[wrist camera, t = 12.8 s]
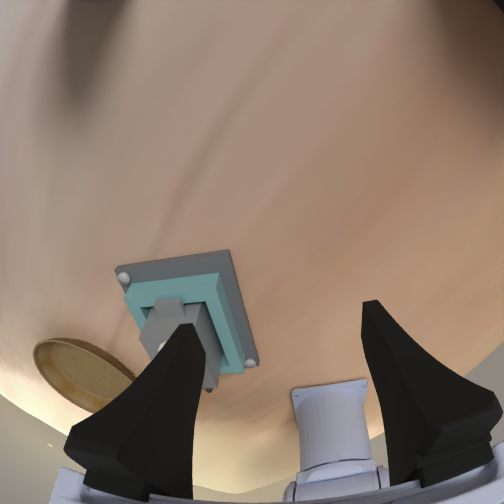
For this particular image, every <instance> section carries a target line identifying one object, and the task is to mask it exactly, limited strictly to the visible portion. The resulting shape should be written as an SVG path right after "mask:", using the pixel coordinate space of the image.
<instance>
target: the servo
mask: <svg viewBox="0 0 504 504" xmlns="http://www.w3.org/2000/svg"><path fill="white" fill-rule="evenodd" d="M185 323H193V325H194V327H195V329H196V332H197V334H198V336H199V339H200V341H201V343H202V346H203V348H204V350H205V352H206V364H205V375H204V380H203V385H202V389H205V390H206V392H208V393H211V392H212V388H217V387H218V380H219V373H220V367H221V360H222V353H223V347H222V345H221V342H220V339H219V337H218V334H217V331H216V329H215V326H214V323H213V321H212V318H211V315H210V312H209V310H208V307H207V304H206V301H202V302H192V303H182V300H181V298H176V299H166V300H156V301H155V302H154V304H153V306H152V308H151V311H150V313H149V315H148V318H147V320H146V322H145V325H144V327H143V329H142V332H141V334H140V336H139V339H140V341H141V343H142V344H143V346H144V348H145V350H146V351H147V353H148V355H149V356H150V358H151V360H153V359H154V357H155V356H156V355H157V354H158V352H159V351H160V350H161V348H162V347H163V346H164V344H165V343H166V342H167V340H168V339H169V338H170V336H171V335H172V334H173V332H174V331H175V330H176V328H177V327H178V326H179V324H185Z"/></svg>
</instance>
